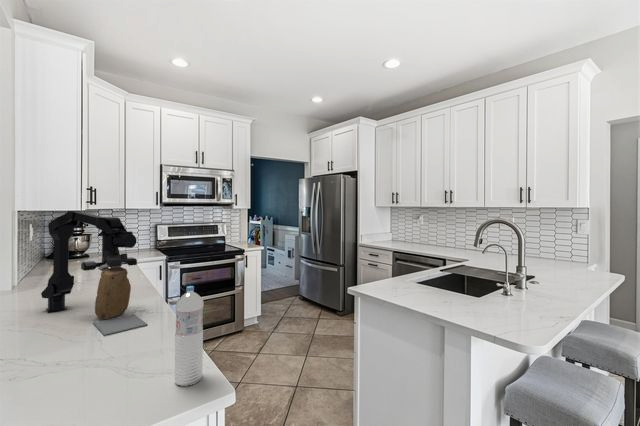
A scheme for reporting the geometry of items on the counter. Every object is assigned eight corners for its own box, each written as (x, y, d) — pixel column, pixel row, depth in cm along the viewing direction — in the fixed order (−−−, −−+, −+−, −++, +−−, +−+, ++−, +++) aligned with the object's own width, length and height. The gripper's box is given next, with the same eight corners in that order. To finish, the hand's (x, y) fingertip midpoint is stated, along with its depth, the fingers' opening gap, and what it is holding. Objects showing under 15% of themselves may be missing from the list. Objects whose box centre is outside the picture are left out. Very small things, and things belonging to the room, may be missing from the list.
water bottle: (180, 373, 84) (181, 283, 84) (205, 372, 84) (207, 283, 84) (170, 387, 77) (171, 290, 77) (197, 387, 78) (199, 290, 77)
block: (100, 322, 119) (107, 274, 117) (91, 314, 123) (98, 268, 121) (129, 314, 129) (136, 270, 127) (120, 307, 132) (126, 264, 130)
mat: (93, 324, 117) (93, 322, 117) (133, 315, 128) (133, 314, 128) (104, 336, 107) (104, 334, 107) (147, 325, 117) (147, 324, 117)
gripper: (87, 250, 115) (87, 291, 115) (141, 246, 129) (141, 283, 129) (80, 248, 122) (80, 286, 123) (132, 244, 136) (132, 279, 137)
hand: (110, 283), depth 127 cm, fingers closed
